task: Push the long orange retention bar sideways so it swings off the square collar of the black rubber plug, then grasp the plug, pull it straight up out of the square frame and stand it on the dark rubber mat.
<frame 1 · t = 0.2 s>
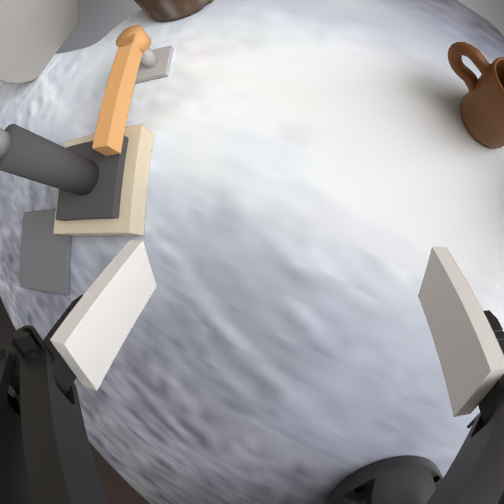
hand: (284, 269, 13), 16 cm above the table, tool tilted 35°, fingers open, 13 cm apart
clip: (121, 82, 27), point 6 cm above the table, hinge at 0.0°
alarm clock: (50, 49, 39), on the table
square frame: (107, 186, 33), on the table
mat: (45, 250, 35), on the table
plug: (107, 186, 33), resting in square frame
mug: (469, 111, 26), on the table
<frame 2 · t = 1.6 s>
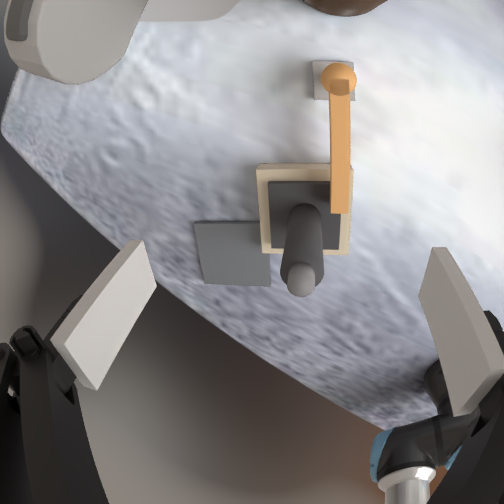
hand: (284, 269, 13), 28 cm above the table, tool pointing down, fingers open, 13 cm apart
clip: (339, 138, 30), point 6 cm above the table, hinge at 0.0°
alarm clock: (122, 12, 30), on the table
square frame: (305, 205, 41), on the table
mat: (233, 253, 47), on the table
plug: (305, 205, 41), resting in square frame
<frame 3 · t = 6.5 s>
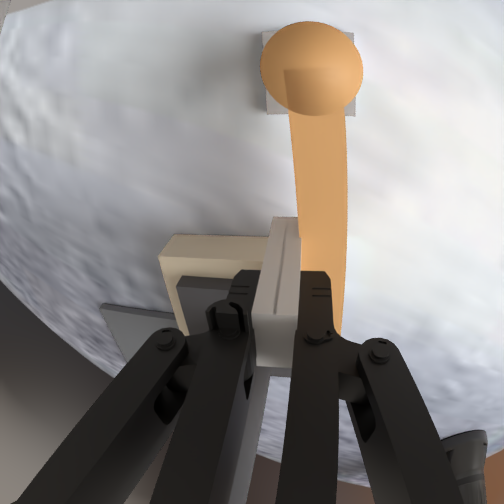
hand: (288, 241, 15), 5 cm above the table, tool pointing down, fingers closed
clip: (322, 220, 13), point 6 cm above the table, hinge at 4.1°, touching gripper
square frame: (257, 300, 25), on the table
mat: (160, 346, 31), on the table
plug: (257, 300, 25), resting in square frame
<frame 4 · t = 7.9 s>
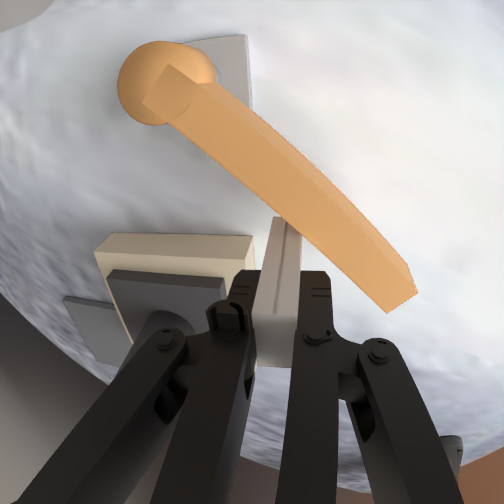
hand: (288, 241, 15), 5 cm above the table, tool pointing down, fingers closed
clip: (284, 176, 13), point 6 cm above the table, hinge at 46.4°, touching gripper
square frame: (188, 294, 26), on the table
mat: (116, 337, 32), on the table
plug: (188, 294, 26), resting in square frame
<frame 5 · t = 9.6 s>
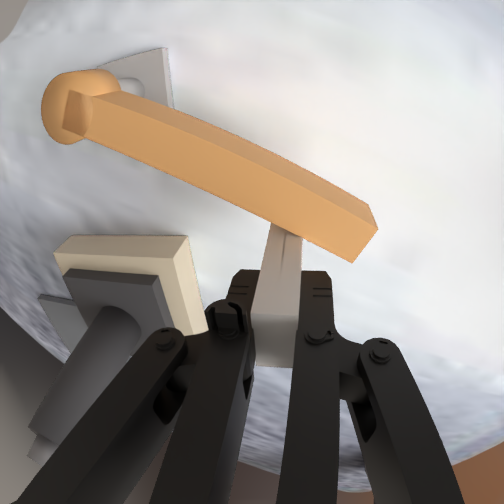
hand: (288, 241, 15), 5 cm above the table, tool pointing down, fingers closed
clip: (193, 148, 13), point 6 cm above the table, hinge at 61.6°, touching gripper
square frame: (140, 291, 27), on the table
mat: (86, 333, 33), on the table
plug: (140, 291, 27), resting in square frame
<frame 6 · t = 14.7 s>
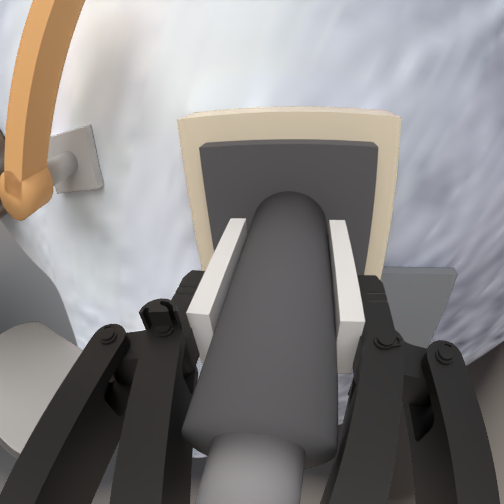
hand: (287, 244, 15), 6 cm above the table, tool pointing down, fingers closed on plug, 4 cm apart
clip: (33, 94, 12), point 6 cm above the table, hinge at 61.9°
alarm clock: (73, 354, 38), on the table
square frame: (292, 196, 20), on the table
mat: (382, 318, 24), on the table
plug: (292, 196, 20), resting in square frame, touching gripper
when the fingers open (8 cm above the table, at t = 20.4 s): plug stays where it is, resting on mat.
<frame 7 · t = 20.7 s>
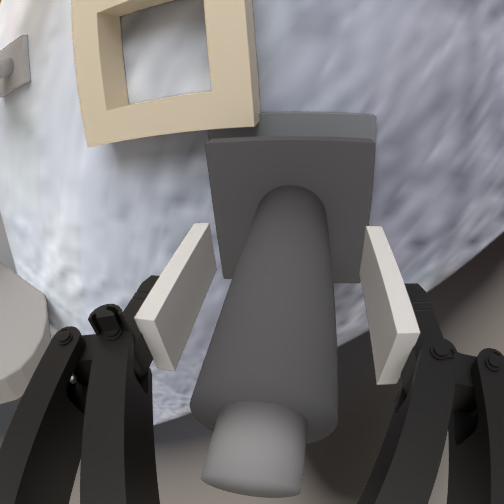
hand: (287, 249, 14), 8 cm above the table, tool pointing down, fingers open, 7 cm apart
alarm clock: (16, 287, 35), on the table
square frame: (168, 47, 17), on the table
mat: (293, 188, 21), on the table
plug: (294, 191, 21), point 1 cm above the table, touching mat
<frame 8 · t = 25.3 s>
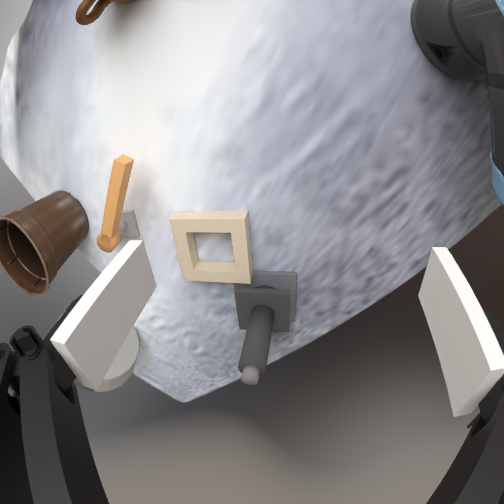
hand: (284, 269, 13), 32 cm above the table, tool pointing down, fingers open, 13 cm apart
plant pot: (67, 215, 54), on the table
clip: (114, 207, 44), point 6 cm above the table, hinge at 61.9°
alarm clock: (110, 322, 70), on the table
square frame: (215, 243, 51), on the table
mat: (265, 295, 56), on the table
plug: (265, 297, 55), point 1 cm above the table, touching mat
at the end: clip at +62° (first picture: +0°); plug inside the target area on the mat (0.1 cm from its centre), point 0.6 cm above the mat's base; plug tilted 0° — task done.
